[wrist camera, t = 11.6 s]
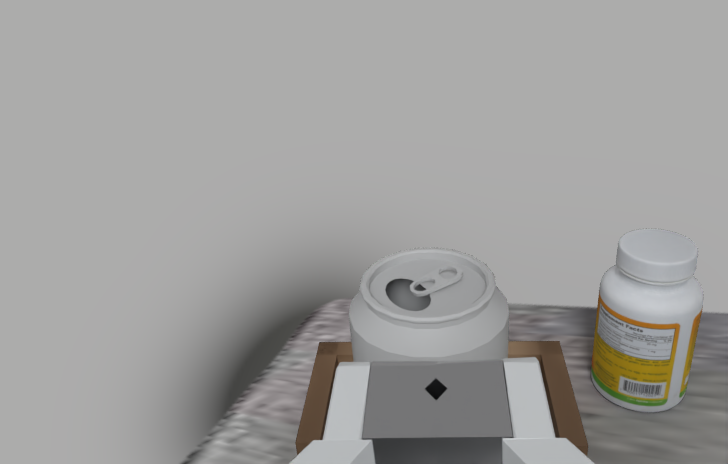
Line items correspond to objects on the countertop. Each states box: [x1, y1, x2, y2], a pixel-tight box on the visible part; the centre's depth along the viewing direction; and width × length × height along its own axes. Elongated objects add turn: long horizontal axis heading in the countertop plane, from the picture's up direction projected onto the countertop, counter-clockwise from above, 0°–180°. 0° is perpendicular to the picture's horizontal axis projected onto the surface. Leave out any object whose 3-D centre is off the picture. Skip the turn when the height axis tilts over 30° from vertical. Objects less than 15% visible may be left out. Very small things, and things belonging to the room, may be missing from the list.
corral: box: [295, 341, 588, 456], centre depth 36 cm, size 14×8×4 cm, turn 85°
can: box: [349, 248, 509, 362], centre depth 33 cm, size 8×8×12 cm
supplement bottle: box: [591, 229, 704, 412], centre depth 38 cm, size 5×5×10 cm
